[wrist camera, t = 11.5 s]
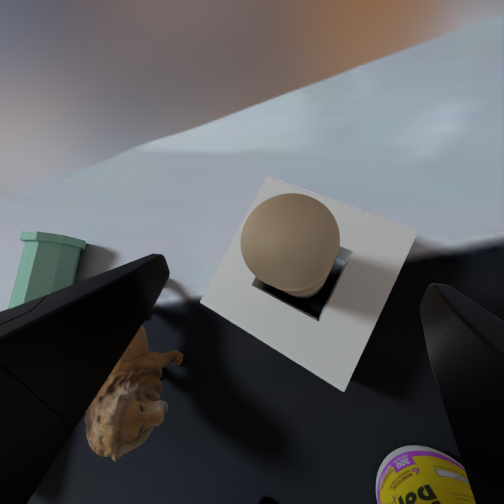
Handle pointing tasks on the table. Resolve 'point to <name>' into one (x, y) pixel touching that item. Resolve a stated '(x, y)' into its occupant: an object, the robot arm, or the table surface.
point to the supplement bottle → (422, 478)
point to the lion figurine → (129, 400)
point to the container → (45, 265)
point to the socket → (338, 303)
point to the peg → (291, 243)
